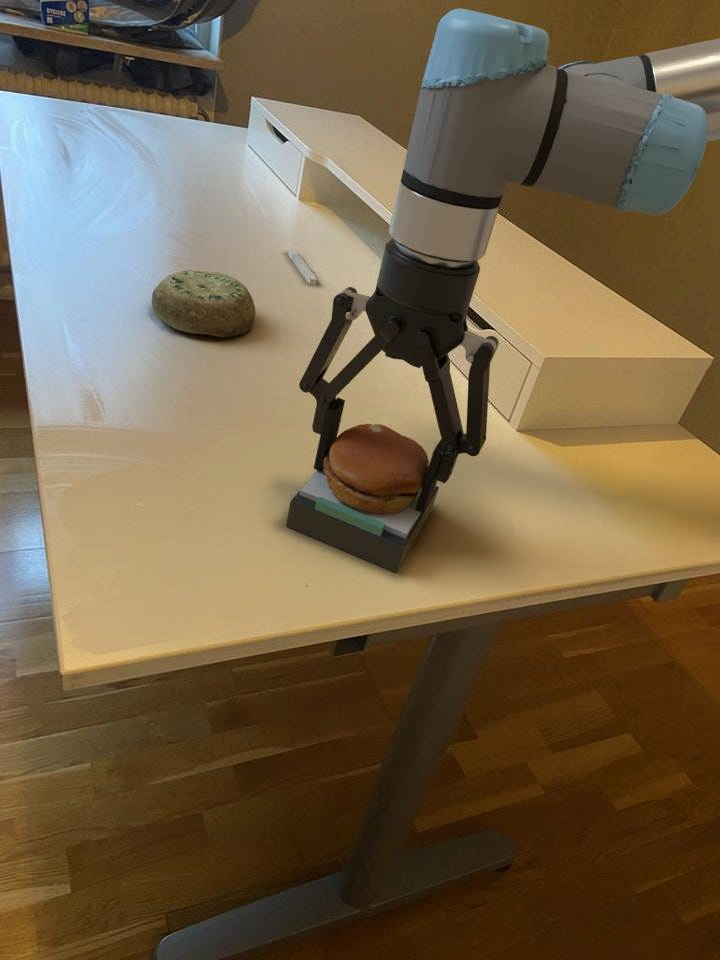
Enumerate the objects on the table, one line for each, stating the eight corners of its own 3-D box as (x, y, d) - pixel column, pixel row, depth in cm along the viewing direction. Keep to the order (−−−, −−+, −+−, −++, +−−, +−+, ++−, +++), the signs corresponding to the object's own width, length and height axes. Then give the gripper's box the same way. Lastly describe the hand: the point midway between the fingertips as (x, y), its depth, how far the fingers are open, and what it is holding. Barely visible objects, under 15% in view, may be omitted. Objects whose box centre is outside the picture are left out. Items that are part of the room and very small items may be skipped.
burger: (355, 525, 64) (366, 482, 61) (303, 465, 69) (312, 423, 67) (442, 505, 69) (456, 464, 66) (388, 450, 75) (399, 411, 72)
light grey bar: (315, 285, 118) (316, 279, 117) (309, 284, 117) (310, 278, 117) (294, 255, 127) (295, 250, 126) (288, 255, 127) (289, 249, 126)
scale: (431, 510, 74) (442, 478, 72) (396, 573, 65) (407, 539, 63) (332, 470, 76) (339, 438, 74) (285, 526, 67) (292, 491, 65)
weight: (128, 312, 96) (129, 275, 93) (196, 290, 106) (199, 256, 103) (210, 352, 92) (214, 314, 89) (273, 324, 102) (278, 290, 99)
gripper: (581, 282, 57) (493, 507, 70) (323, 198, 62) (284, 425, 74) (568, 310, 51) (474, 551, 64) (283, 215, 56) (248, 458, 68)
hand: (372, 483), depth 69 cm, fingers closed on burger, 9 cm apart
